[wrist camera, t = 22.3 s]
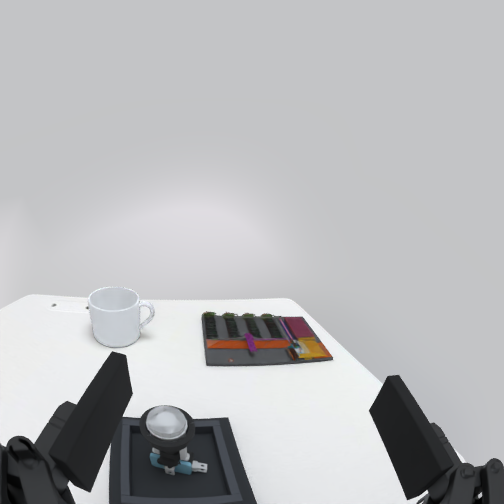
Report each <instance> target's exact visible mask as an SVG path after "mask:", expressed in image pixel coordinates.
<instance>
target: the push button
mask: <svg viewBox="0 0 504 504" xmlns="http://www.w3.org/2000/svg"><path fill="white" fill-rule="evenodd" d="M139 427H140V431H141V434H142V435H143V437H144V438H145V439H146V440H147V441H148V442H149V444H150V445H151V446H152V447H153V448H152V451H151V454H150V460H151V464H152V465H153V466H155V467H160V468H163V469H165V472H166V473H167V474H171V475H175V472H179V473H184V474H189V475H190V474H191V472H192V471H195V472H197V471H200V472H205V473H206V472H207V464H204V463H198V461H193V459H194V453H193V452H190V451H187V446H188V444H189V442H190V441H191V440H192V438H193V436H194V434H195V423H194V421H193V419H192V417H191V416H190V415H189V414H188V413H187V412H185V411H184V410H182V409H180V408H177V407H173V406H165V405H164V406H156V407H153V408H151V409H149V410H147V411H146V412H145V413H144V414H143V415H142V416H141V418H140V421H139ZM147 429H148V430H149V431H150V434H149V433H148V432H147ZM187 429H188V433H187V434H186V430H187ZM201 465H204V467H202V466H201ZM201 469H204V470H201ZM174 471H175V472H174ZM169 472H172V473H169Z"/></svg>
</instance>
